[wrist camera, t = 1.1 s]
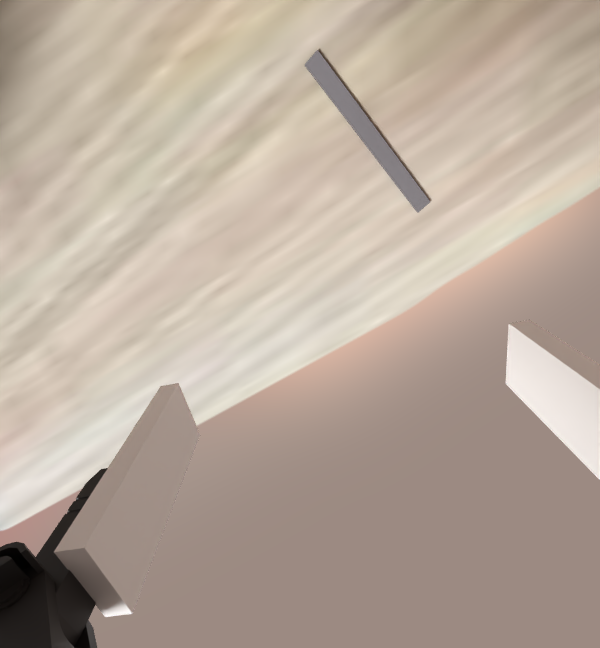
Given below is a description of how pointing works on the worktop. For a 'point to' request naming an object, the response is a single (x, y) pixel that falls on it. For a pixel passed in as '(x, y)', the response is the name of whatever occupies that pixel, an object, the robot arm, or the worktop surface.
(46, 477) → the worktop surface
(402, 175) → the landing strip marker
